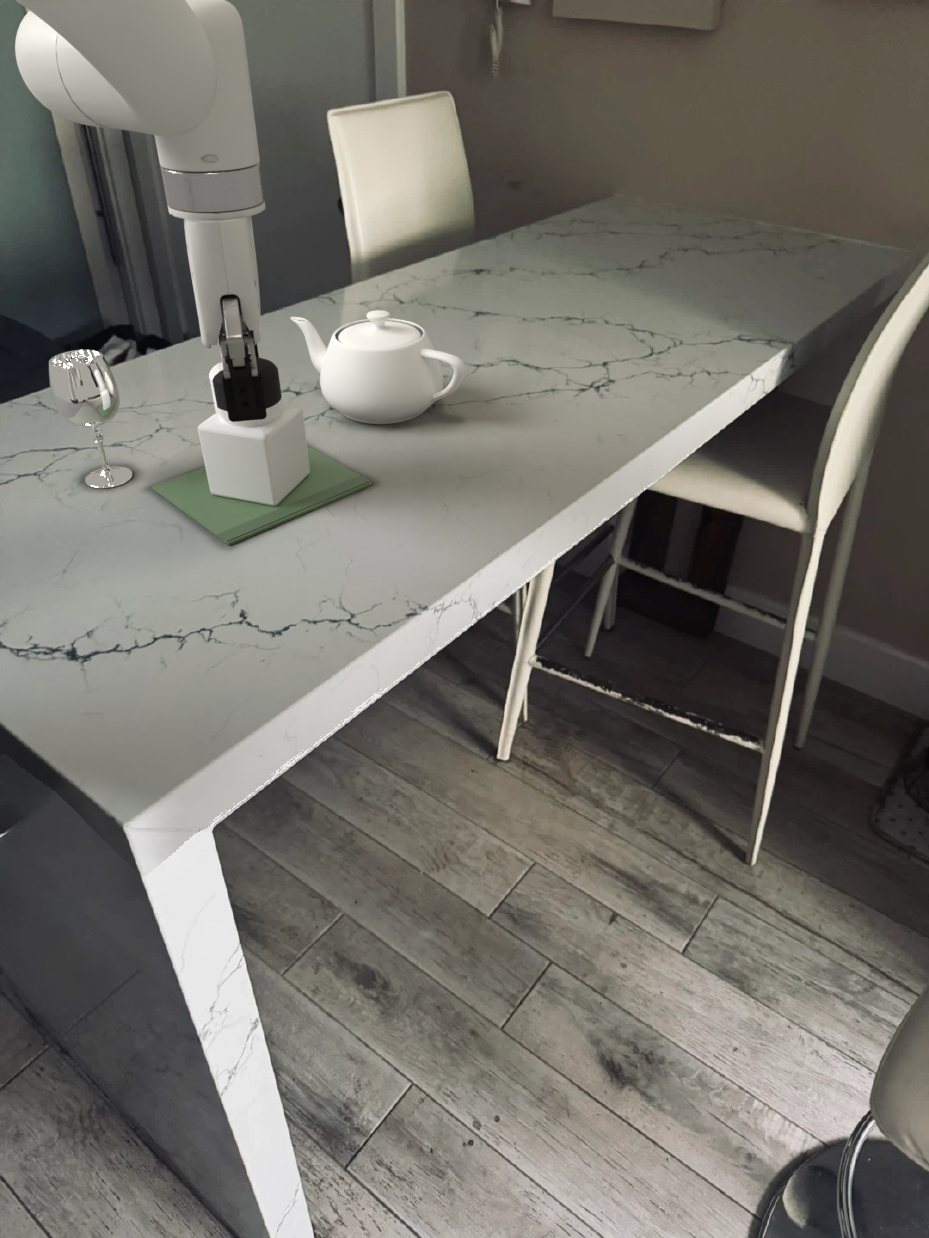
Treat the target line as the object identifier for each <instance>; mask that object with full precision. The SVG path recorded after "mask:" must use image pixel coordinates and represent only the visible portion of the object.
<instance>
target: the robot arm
mask: <svg viewBox="0 0 929 1238" xmlns="http://www.w3.org/2000/svg"><path fill="white" fill-rule="evenodd" d="M15 1H16V2H17V3H19V4H20V5H21V6H23V7H24V8H26V9H27V10H28V12H27V13H26V14H25V15H24V16H23V18H22V19H21V22H20V23H19V26H18V29H17V31H16V35H15V43H14V53H15V59H16V60H15V61H16V65H17V68H18V72H19V74H20V75H21V78H22V80H23V83H25V85H26V87H27V89H28V90H29V92H30V93H31V94H32V95H33V97H34V98H35V99H36V100H37V101H38V102H39V103H41V105H42V106H44V107H45V108H46V109H47V110H49V111H50V112H52V113H54V114H55V115H56V116H59V117H60V118H63V119H65V120H68V121H70V122H72V123H75V124H79V125H85V126H89V127H97V128H102V129H109V130H120V131H121V130H122V131H127V132H135V133H140V134H146V135H151V136H154V140H155V146H156V150H157V151H156V152H157V156H158V162H159V165H160V172H161V178H162V184H163V189H164V194H165V200H166V206H167V211H168V214H169V215H170V216H173V217H174V218H177V219H182V220H183V228H184V236H185V245H186V253H187V259H188V265H189V271H190V275H191V276H190V277H191V282H192V288H193V296H194V301H195V307H196V313H197V319H198V326H199V332H200V340H201V344H202V346H203V347H205V348H206V349H211V348H212V346H217V345H219V350H220V357H221V362H222V365H223V372H224V375H222V382H223V388H224V394H225V400H226V406H227V412H228V418H229V420H230V421H232V422H238V421H249V420H260V419H265V418H266V416H267V413H266V406H265V399H264V392H263V385H262V377H261V372H258V371H257V364H256V357H259V358H260V356H259V349H258V343H260V341H261V340H262V317H261V316H262V315H261V295H260V294H261V293H260V284H259V283H260V282H259V281H260V280H259V271H258V261H257V253H256V243H255V235H254V228H253V227H254V226H253V220H252V219H253V218H252V216H255V215H259V214H260V213H262V212H264V211H265V210H266V201H265V193H264V186H263V177H262V168H261V160H260V152H259V151H260V150H259V144H258V143H259V142H258V135H257V126H256V119H255V110H254V109H255V108H254V102H253V101H254V100H253V94H252V87H251V85H252V84H251V77H250V68H249V62H248V60H249V59H248V54H247V46H246V37H245V30H244V24H243V21H242V17H241V15H240V13H239V11H238V9H237V8H236V6H235V5H234V4H232V2H230V1H228V0H15ZM250 366H251V368H250Z"/></svg>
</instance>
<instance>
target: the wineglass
mask: <svg viewBox="0 0 929 1238" xmlns="http://www.w3.org/2000/svg"><path fill="white" fill-rule="evenodd" d="M48 380H49V388H50V393H51V399H52V402H53V404H54V407H55V409H56V411H57V412H58V414H59V415H60V417H61V418H63V420H65V421H66V422H67V423H69V424H70V425H73V426H77V427H81V428H91V431H90V434H91V438H92V440H93V441H94V443H95V445H96V447H97V449H98V452H99V455H100V459H101V467H100V468H98V469H95V470H93V471H91V472H89V473H88V474H87V475H86V476H85V478H84V483H85V484H86V486H88V487H90V488H94V489H109V488H110V489H111V488H115V487H118V486H122V485H124V484H126V483H127V482H129V481H130V480H131V479H132V478H133V475H134V474H133V471H132V469H130V468H128V467H126V466H121V465H110V464H109V462H108V459H107V456H106V453H105V449H104V448H105V447H104V433H103V431H102V429H101V428H100V426H103V425H105V424H106V423H108V422H110V421H111V420H112V419H114V418H115V416H116V415H117V414H118V412H119V409H120V405H121V398H120V397H121V396H120V391H119V386H118V384H117V381H116V378H115V376H114V374H113V371H112V369H111V367H110V366H109V364H108V362H107V360H106V358H105V356H104V354H103V353H102V352H100V351H97V350H95V349H76V350H75V349H74V350H70V351H69V350H68V351H65V352H61V353H58V354H57V355H54V356H52V357H51V358H50V359H49V360H48Z"/></svg>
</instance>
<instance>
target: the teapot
mask: <svg viewBox="0 0 929 1238" xmlns="http://www.w3.org/2000/svg"><path fill="white" fill-rule="evenodd" d="M390 316H391V315H390V312H389V311H386V310H380V309H376V310H371V311H368V312H367V313H366V318H365V319H360V320H355V321H351V322H347V323H345V324H343V325H341V326H340V327H338V328H337V329H335V331H334V332H333V333H332V334H331V338H330V340H329V343H328V345H327V346H326V345H325V343H324V342H323V340H322V338H321V336H320V334H319V333H318V330H317V329H316V327H315V326H314V325H313V324H312V322H311V321H310V320H309V319H306V318H304V317H300V316H291V317H290V318H289V319H290V320H291V321H292V322H293V323H294V324H295V325H297V327H298V328H300V330H301V332H302V334H303V336H304V339H305V342H306V345H307V346H306V347H307V350H308V354H309V358H310V361H311V363H312V365H313V367H314V369H315V370H316V371H317V372H318V373H319V374H320V376H319V385H320V390H321V394H322V396H323V398H324V399H325V400H326V402H327V403H328V404H329V406H331V407H332V408H334V409H335V410H336V411H337V412H339V413H341V414H342V415H343V416H344V417H345V418H348V419H350V420H352V421H356V422H359V423H363V424H371V425H372V424H374V425H389V424H396V423H402V422H406V421H410V420H413V419H414V418H417V417H418V416H420V415H422V414H423V413H424V412H425V411H427V409H428V408H430V407H431V406H432V405H433V404H435V402H436V401H439V400H441V399H444V398H446V397H448V396H449V395H451V394H453V393H454V392H455V391H456V390H457V389H458V388H459V386H460V385H461V384H462V382H463V380H464V378H465V371H466V368H465V363H464V362H463V360H462V359H461V358H460V357H459V356H456V355H454V354H451V353H448V352H444V351H440V350H435V347H434V346H433V344H432V342H431V339H430V337H429V335H428V333H427V332H426V330H425V329H424V328H423V327H422V326H421V325H419V324H417V323H416V322H412V321H409V320H406V319H405V320H404V319H399V318H390ZM441 362H442V363H445V364H447V365H449V366H450V367H451V368H452V370H453V375H452V378H451V380H450V381H449V383H448V385H447V386H445V387H444V372H443V367H442V365H441Z"/></svg>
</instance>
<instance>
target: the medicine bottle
mask: <svg viewBox="0 0 929 1238" xmlns="http://www.w3.org/2000/svg"><path fill="white" fill-rule="evenodd" d="M256 364H257V371H258V372H261V377H262V385H263V392H264V399H265V406H266V413H267V416H266V418H265V419H260V420H249V421H238V422H232V421H230V420H229V418H228V412H227V406H226V400H225V394H224V388H223V382H222V375H224V372H223V365H222V361H221V362H218V363H217V364H215V365H214V366H213V367H212V368H211V369H210V371H209V373H208V379H209V384H210V389H211V395H212V400H213V406H214V410H215V413H213V415H211V416H209V417H208V418H207V419H205V420H204V421H203V422H201V423H200V424H198V425H197V432H198V437H199V442H200V447H201V452H202V457H203V462H204V467H206V472H207V477H208V482H209V487H210V492H211V494H213V495H217V496H222V497H227V498H233V499H238V500H244V501H249V502H254V503H260V504H265V505H271V506H277V505H278V504H279V503H280V502H281V501H282V500H283V499H284V498H285V497H286V496H287V495H288V494H289V493H290V492H291V491H292V490H293V489H294V488H295V487H296V486H297V485H298V484H299V483H300V482H301V481H302V480H303V479H304V478H305V477H306V476H307V475H308V474H309V473H310V466H309V458H308V450H307V446H308V444H307V443H308V442H307V434H306V427H305V426H306V425H305V420H304V419H305V418H304V409H303V407H301V406H300V405H296V404H295V405H293V404H289V403H283V397H282V396H283V395H282V389H281V382H280V375H279V374H280V373H279V369H278V368H279V367H278V366H277V365H276V364H275V363H274V362H273V361H271V360H269V359H266V358H263V357H260V356H259V357H256ZM250 368H251V366H250Z"/></svg>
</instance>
